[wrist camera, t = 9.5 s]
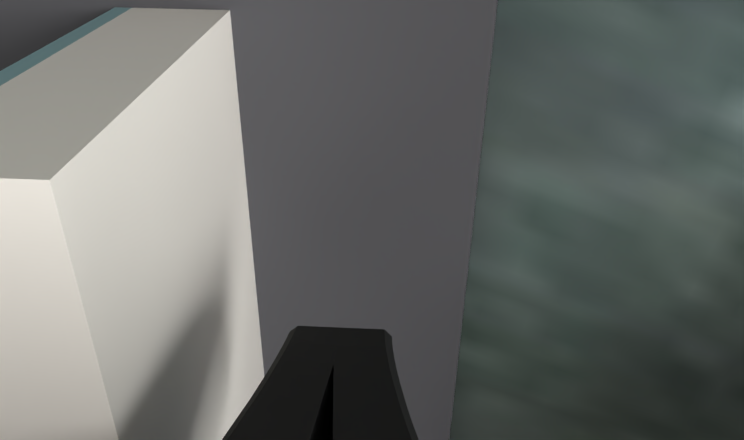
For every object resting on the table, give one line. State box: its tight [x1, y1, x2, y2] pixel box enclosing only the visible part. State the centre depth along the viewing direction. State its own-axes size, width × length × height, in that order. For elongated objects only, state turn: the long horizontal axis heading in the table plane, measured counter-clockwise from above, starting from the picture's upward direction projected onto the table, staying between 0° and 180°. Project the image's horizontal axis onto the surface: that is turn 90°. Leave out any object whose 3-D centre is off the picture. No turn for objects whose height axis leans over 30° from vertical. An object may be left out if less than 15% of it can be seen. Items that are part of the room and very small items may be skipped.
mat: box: [0, 0, 498, 440], centre depth 13 cm, size 18×15×1 cm
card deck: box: [0, 7, 264, 440], centre depth 11 cm, size 9×2×6 cm, turn 179°
